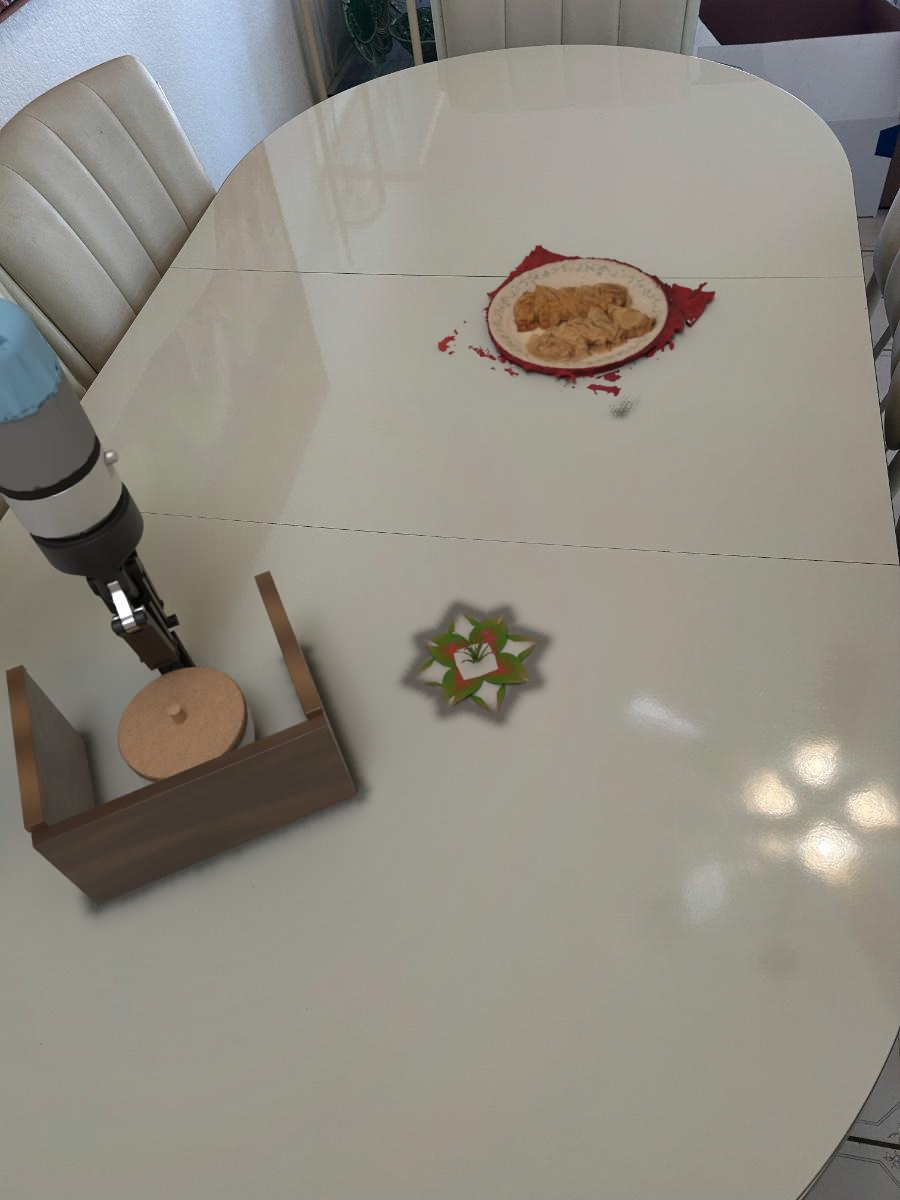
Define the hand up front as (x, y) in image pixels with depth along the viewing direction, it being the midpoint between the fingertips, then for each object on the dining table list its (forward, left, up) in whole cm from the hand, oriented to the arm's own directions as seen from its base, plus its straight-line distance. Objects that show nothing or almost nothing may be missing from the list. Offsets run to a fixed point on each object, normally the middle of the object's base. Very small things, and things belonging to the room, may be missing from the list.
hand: (186, 682), depth 86 cm
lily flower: (+25, +8, -2) cm, 27 cm away
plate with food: (+25, +59, -2) cm, 64 cm away
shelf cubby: (+5, -7, -2) cm, 9 cm away
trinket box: (+5, -7, -2) cm, 8 cm away
